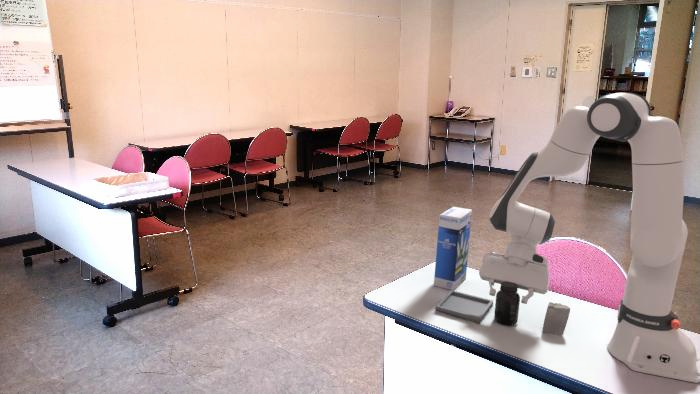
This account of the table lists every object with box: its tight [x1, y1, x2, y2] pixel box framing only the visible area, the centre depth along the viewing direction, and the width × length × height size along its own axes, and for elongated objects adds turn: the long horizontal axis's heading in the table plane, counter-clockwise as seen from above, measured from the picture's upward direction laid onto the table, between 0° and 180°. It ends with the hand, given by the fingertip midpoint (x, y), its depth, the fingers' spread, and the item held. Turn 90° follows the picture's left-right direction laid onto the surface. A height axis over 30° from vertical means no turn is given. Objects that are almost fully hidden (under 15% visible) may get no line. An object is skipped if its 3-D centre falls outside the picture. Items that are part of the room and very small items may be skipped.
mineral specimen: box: [542, 302, 571, 336], centre depth 153 cm, size 7×9×8 cm
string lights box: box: [433, 206, 473, 291], centre depth 181 cm, size 13×8×26 cm, turn 149°
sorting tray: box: [435, 290, 494, 325], centre depth 164 cm, size 14×14×2 cm
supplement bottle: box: [493, 281, 521, 327], centre depth 156 cm, size 7×7×12 cm
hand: (507, 298), depth 155 cm, fingers open, 8 cm apart
